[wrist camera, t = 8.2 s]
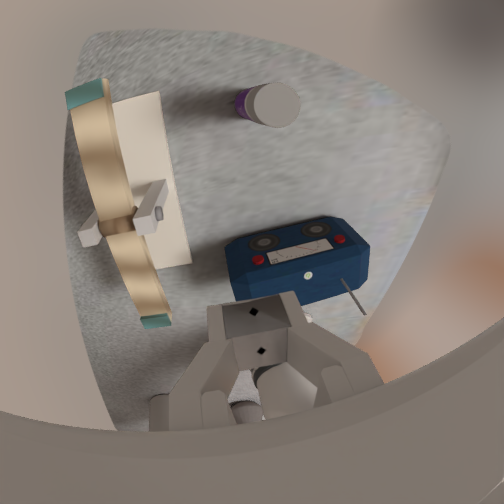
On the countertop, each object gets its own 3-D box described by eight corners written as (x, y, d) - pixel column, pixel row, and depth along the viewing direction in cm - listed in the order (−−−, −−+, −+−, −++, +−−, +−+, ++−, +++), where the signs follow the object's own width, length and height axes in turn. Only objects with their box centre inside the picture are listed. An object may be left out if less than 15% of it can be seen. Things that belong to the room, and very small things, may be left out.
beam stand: (192, 259, 46) (191, 319, 34) (133, 269, 45) (116, 329, 33) (159, 91, 31) (134, 85, 19) (90, 111, 30) (39, 121, 18)
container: (228, 111, 35) (243, 116, 22) (243, 83, 33) (266, 72, 20) (258, 124, 36) (288, 137, 24) (272, 97, 34) (310, 95, 22)
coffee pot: (259, 411, 81) (268, 448, 69) (226, 414, 79) (231, 452, 67) (269, 380, 71) (281, 425, 58) (228, 383, 68) (236, 431, 56)
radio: (339, 208, 46) (406, 273, 29) (339, 249, 51) (394, 321, 34) (221, 235, 45) (236, 324, 28) (233, 277, 50) (251, 367, 33)
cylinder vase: (198, 404, 73) (205, 477, 52) (169, 413, 75) (172, 481, 54) (170, 389, 66) (172, 470, 45) (141, 399, 68) (139, 473, 47)
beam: (173, 310, 39) (172, 325, 36) (146, 314, 38) (143, 329, 36) (111, 78, 21) (101, 77, 18) (75, 91, 20) (63, 92, 18)
